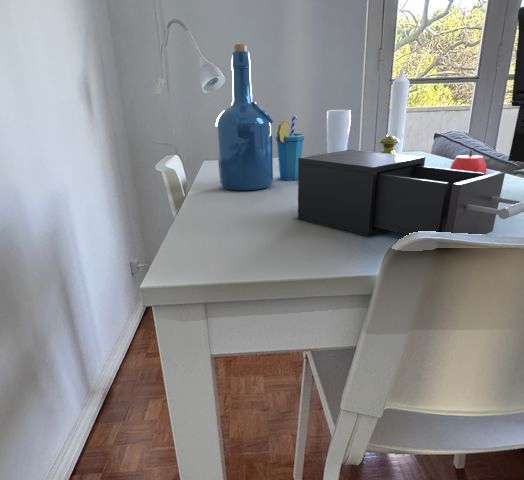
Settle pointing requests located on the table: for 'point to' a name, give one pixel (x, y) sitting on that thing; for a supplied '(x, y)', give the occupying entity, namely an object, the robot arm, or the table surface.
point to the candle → (398, 109)
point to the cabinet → (344, 187)
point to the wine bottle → (244, 134)
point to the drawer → (440, 200)
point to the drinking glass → (337, 130)
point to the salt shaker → (388, 144)
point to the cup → (288, 150)
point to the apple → (469, 163)
